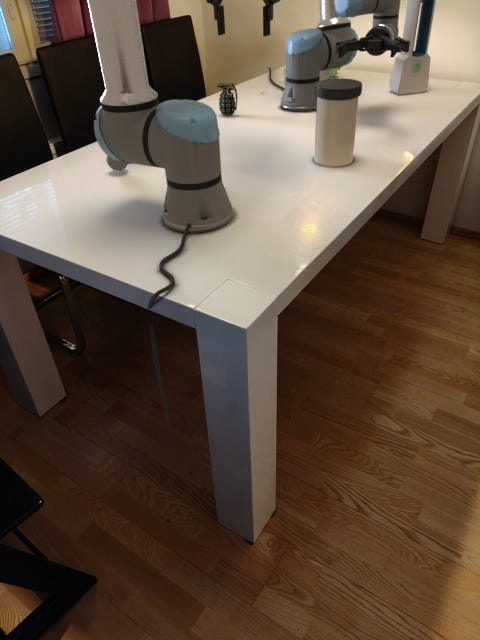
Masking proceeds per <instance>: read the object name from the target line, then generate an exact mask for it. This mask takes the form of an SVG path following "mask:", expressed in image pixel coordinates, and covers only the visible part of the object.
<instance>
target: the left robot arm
mask: <svg viewBox="0 0 480 640" xmlns="http://www.w3.org/2000/svg"><path fill="white" fill-rule="evenodd" d="M262 1H263V3H264V5H263V6H262V36H263V37H268V36H271V21H274V6H275V4H277V3H280V2H281V0H262ZM222 2H223V0H206V3H207V4H210V5H212V7H213V18H214V20H215V21H216V27H217V36H223V35H225V34H226V24H225V23H226V22H225V5H222V4H223V3H222ZM87 3H88V4H87V5H88V8H89V13H90V20H91V23H92V29H93V34H94V39H95V43H96V49H97V53H98V59H99V63H100V68H101V73H102V78H103V84H104V88H105V90H104V92H103V93H102V95H101V97H100V98H99V102H100V107H98V109H97V110H96V113H95V120H93V130H94V135H95V139H96V143H97V144H98V146H99V147H100V149H101V150H102V152H103V153H104V154H105V155H106V156H109V157H111V158H112V159H115V160H118V161H122V162H124V163H128V164H127V165H131V164H132V165H139V166H146V167H154V168H160V169H164V174H165V180H166V190H165V191H166V192H165V196H164V203H163V207H162V218H163V222H164V224H165V226H167V227H168V228H169V229H171V230H173V231H177V232H180V233H183V234H182V237H181V241H180V244H179V246H178V247H177V249H176V250H175V251H173V252H172V253H170V254H168V255H166V256H164V257H163V258H161V260H160V261H159V265H158V267H159V271H160V272H161V273H162V274H164V275H165V276H166V277H168V279H169V280H170V283H169V284H168V285H167V286H165V287H163V288H160V289H158V290H157V291H155V292H154V293H153V294H152V296H151V297H150V298H149V301H148V305H147V309H148V310H151V309H152V308H153V305H154V303H155V300H156V299H157V298H158V297H159V296H160V295H162V294H163V293H165V292H168V291H169V290H171V289H173V287H174V286H175V283H176V280H175V277H174V275H172V274H171V273H170V272H169V271H167V270H166V269H165V267H164V264H165V263H166V262H167V261H169V260H171V259H173V258H174V257H176V256H177V255H179V253H181V251H182V250H183V248H184V247H185V243H186V239H187V236H188V233H190V234H191V233H192V234H193V233H194V234H195V233H196V234H197V233H205V232H206V233H207V232H210V231H215V230H216V229H220V228H222V227H224V226H226V225H227V224H228V223H230V221H231V220H232V218H233V216H234V212H233V211H234V210H233V205H232V201H231V200H230V197H229V195H228V192H227V190H226V187H225V184H224V182H223V175H222V174H223V173H222V161H221V159H222V158H221V145H220V133H221V132H220V129H219V123H218V116H217V113H216V112H215V110H214V109H213V108H212V106H210V105H208V104H206V103H204V102H202V101H198V100H193V99H169V100H165V101H162V102H160V101H159V94H158V92H157V91H156V90H155V89H153V88H152V87H151V85H150V84H149V78H148V71H147V64H146V57H145V52H144V44H143V39H142V32H141V24H140V19H139V12H138V5H137V0H87ZM148 327H149V333H150V341H151V349H152V354H153V355H152V357H153V363H154V368H155V373H156V379H157V384H158V386H159V388H158V389H159V392H160V393H159V394H160V396H161V401H162V406H163V410H164V411H163V412H164V416H165V420H166V423H167V424H168V425H169V424H170V423H171V417H170V411H169V407H168V402H167V398H166V397H167V396H166V393H165V389H164V384H163V378H162V375H161V368H160V363H159V355H158V350H157V340H156V333H155V332H156V331H155V325H152V324H148Z"/></svg>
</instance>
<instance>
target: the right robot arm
mask: <svg viewBox="0 0 480 640" xmlns="http://www.w3.org/2000/svg"><path fill="white" fill-rule="evenodd" d="M400 8H401V0H319V19H320V20H319V22H318V23H317V25H316V27H315V28H314V27H313V28H312V27H311V28H306V29H305V28H303V29H299V30H296V31H293V32H292V33H290V34H289V35H288V36H287V39H286V47H285V58H286V59H285V68H286V81H285V85H284V87H283V86H281V85H279V84H278V83H276V82H275V81H274V80H273V79H272V69H271V67H270V66H268V78H269V81H270V82H271V84H273V85H274V86H275V87H277V88H279V89H281V90H283V93H282V95H281V99H280V108H281V109H282V110H284V111H288V112H294V113H295V112H296V113H304V112H305V113H306V112H307V113H308V112H314V111H316V108H317V96H315V85H316V83H317V82H319V81H320V71H323V70H327V69H332V68H340V67H341V68H342V67H344V66H345V67H346V66H347V65H350V63H352V62H353V61H354V59H355V57H356V56H357V54H358V52H366V53H367V54H368V55H370V56H373V57H379V56H382V55H384V54H385V53H386V52H388V51H390V58H394V57H395V56H396V55H397V53H398V54H400V53H401V52H402V51H404V52H409V47H410V41H408V40H405V39H403V37H401V36H399V19H400V18H399V17H400ZM365 15H373V16H372V26H371V27H372V28H370V30H368V31H367V32H366V34H365V36H363V37H360V38H359V36H358V33H356V32H357V31H356V30H355V29H354V28H352V25H351V24H352V23H351V22H352V21H351V20H350V19H349V18H356V17H358V16H360V17H361V16H365Z"/></svg>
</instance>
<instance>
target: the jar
mask: <svg viewBox="0 0 480 640" xmlns="http://www.w3.org/2000/svg"><path fill="white" fill-rule="evenodd" d="M359 98H360V96H359V97H356V98H353V99H347V100H327V99H321V98H318V97H317V108H316V110H315V111H316V112H315V132H314V134H315V135H314V156H313V161H314V162H315V163H316V164H317V165H320V166H323V167H331V168H332V167H336V168H337V167H343V166H347V165H350V164H352V163H353V161H354V153H355V152H354V151H355V143H356V142H355V140H356V131H357V122H358V121H357V120H358V119H357V118H358V111H359V100H360V99H359Z"/></svg>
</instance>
